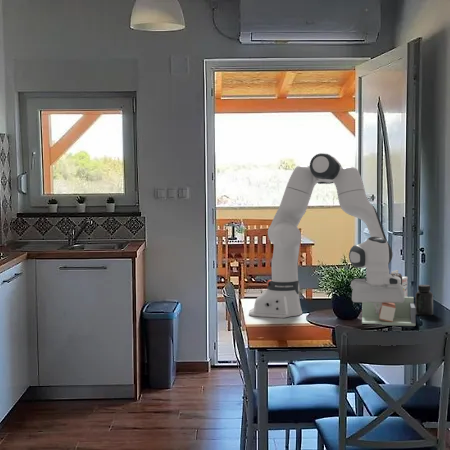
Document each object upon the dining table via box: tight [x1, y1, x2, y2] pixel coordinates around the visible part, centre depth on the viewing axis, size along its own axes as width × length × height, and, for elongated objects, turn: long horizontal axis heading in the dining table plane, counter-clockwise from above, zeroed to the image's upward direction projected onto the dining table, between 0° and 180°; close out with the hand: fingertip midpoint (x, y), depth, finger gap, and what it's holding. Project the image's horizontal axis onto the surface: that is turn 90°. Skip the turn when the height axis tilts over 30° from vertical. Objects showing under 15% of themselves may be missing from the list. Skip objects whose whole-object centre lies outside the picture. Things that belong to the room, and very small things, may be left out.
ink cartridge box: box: [390, 269, 409, 297], centre depth 303 cm, size 9×5×15 cm, turn 144°
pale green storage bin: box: [361, 296, 417, 327], centre depth 267 cm, size 20×12×9 cm, turn 78°
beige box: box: [379, 303, 396, 322], centre depth 266 cm, size 5×8×6 cm, turn 168°
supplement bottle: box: [415, 284, 434, 317], centre depth 279 cm, size 7×7×12 cm
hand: (378, 313), depth 267 cm, fingers closed, pressing on beige box
